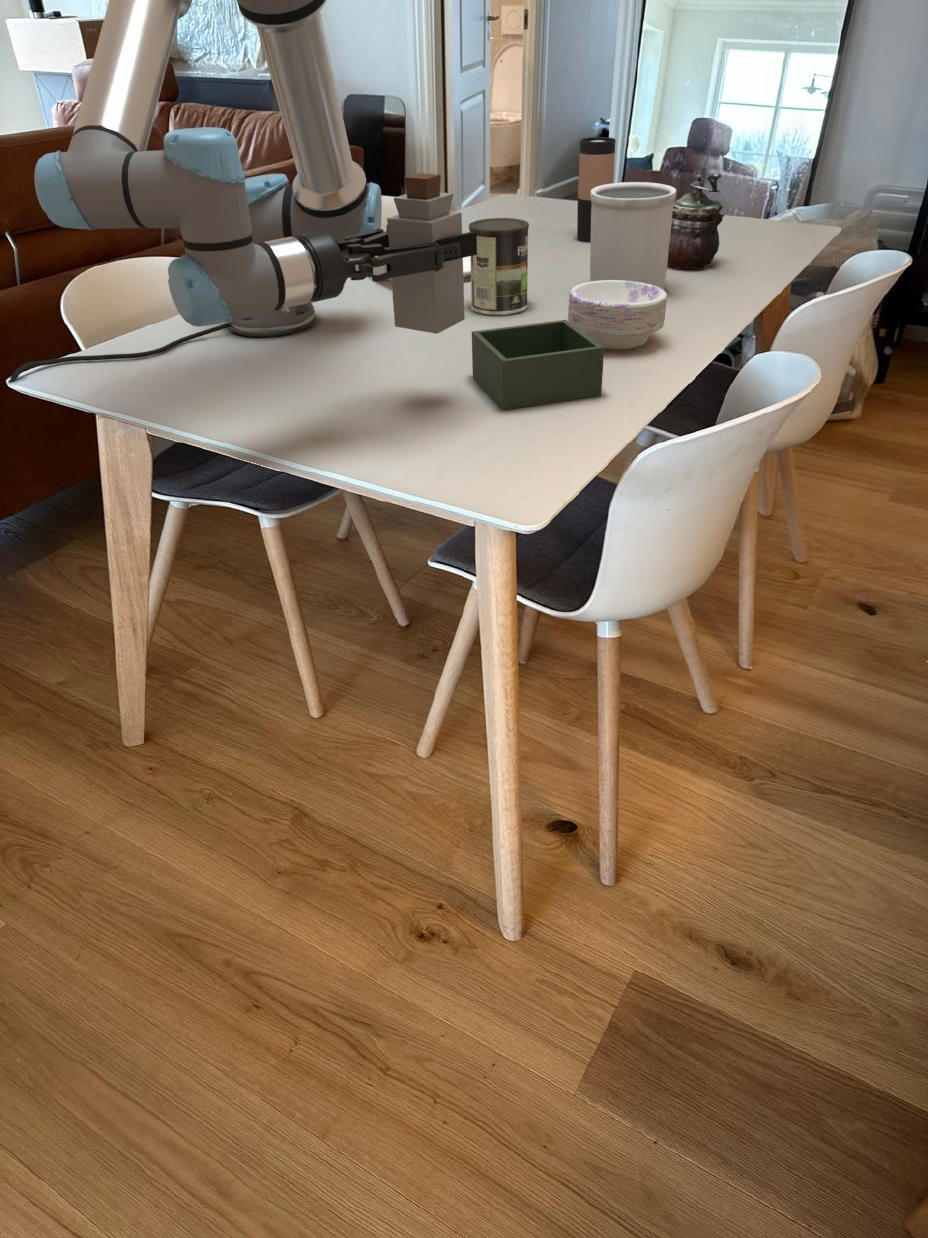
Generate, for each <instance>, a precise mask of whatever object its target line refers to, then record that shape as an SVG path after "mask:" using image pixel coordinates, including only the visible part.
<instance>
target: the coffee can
mask: <svg viewBox="0 0 928 1238" xmlns="http://www.w3.org/2000/svg"><path fill="white" fill-rule="evenodd" d="M529 228H530V223H529V222H528V221H527V220H524V219H521V218H513V217H493V218H484V219H479V220H474V221H472V222H470V223H468V230H469V232H477V255H473V256H470V263H471V275H470V292H471V294H470V295H471V296H470V297H471V298H470V299H471V305H470V308H471V310H472V311H473V312H475V313H478V314H481V315H486V316H507V315H509V316H510V315H514V314H519V313H522V312H524V311H526V310H527V309H528V305H529V304H528V274H529V273H528V271H529V270H528V269H529V268H528V267H529V266H528V263H529V261H528V259H529V257H528V256H529V248H528V247H529Z"/></svg>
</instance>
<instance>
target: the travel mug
mask: <svg viewBox="0 0 928 1238" xmlns="http://www.w3.org/2000/svg"><path fill="white" fill-rule="evenodd" d="M616 141H617V140H616V139H615V138H614V137H607V136H593V137H583V138H581V139H580V141H579V160H578V180H577V181H578V182H577V211H576V212H577V213H576V214H577V217H576V218H577V223H576V224H577V227H576V234H577V235H576V237H577V238H576V239H577V240H578V241H580V242H584V243H591V207H592V202H591V199H590V192H591V190H592V189H593V188H595V187H597V186H601V185H606V184H612V183H614V180H615V179H614V178H615V176H614V175H615V160H616V159H615V158H616Z"/></svg>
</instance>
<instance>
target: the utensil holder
mask: <svg viewBox="0 0 928 1238" xmlns="http://www.w3.org/2000/svg"><path fill="white" fill-rule="evenodd" d="M676 197H677V189H676V188H675V187H674V186H671V185H668V184H664V183H657V182H649V181H648V182H647V181H628V182H626V181H623V182H613V183H612V184H606V185H601V186H597V187H595V188H593V189H592V190H591V192H590V199H591V202H592V207H591V242H590V247H589V248H590V250H589V251H590V252H589V282H591V281H600V280H625V281H635V282H642V283H647V284H651V285H654V286H657V287H659V288H661V289H663V290H664V291H665V287H666V278H667V270H668V266H667V262H668V252H669V242H670V233H671V223H672V213H673V202H674V200H676Z"/></svg>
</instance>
